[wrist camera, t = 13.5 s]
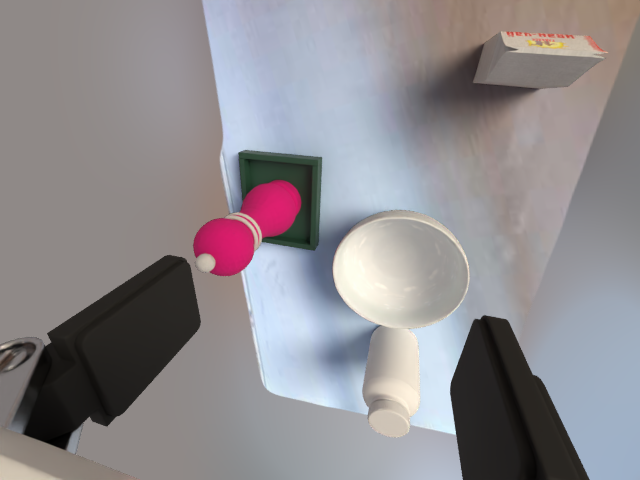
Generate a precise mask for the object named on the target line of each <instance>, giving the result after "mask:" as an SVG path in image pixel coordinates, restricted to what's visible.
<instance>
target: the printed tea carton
mask: <svg viewBox="0 0 640 480" xmlns="http://www.w3.org/2000/svg"><path fill="white" fill-rule="evenodd" d="M602 53H609V52H605V51H603V50H602V49H600V48H599V47H598V46H597V45H596V43H595V42H594V41H593V40H592V38H591V37H590V36H578V35H559V34H540V33H520V32H499V33H498V34H496V35H495V36H493V37H492V38H491V39H489V40H488V41H486V42H485V43H484V47H483V50H482V54H481V57H480V60H479V64H478V67H477V71H476V74H475V78H474V81H473V83H481V84H493V85H504V86H516V87H528V88H540V89H543V88H557V87H568V86H570V85H571V84H572V83H573V82H574V81H576V80H577V79H578V78H579V77H581V76H582V75H583V74H584V73H585V72H587V71H588V70H589V69H590V68H592V67H593V66H595V65H596V64H597V63H599V62H600V61H602V60H604V59H606V58H604V57H601V56H597V55H596V54H602Z"/></svg>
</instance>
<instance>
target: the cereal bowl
mask: <svg viewBox="0 0 640 480" xmlns="http://www.w3.org/2000/svg"><path fill="white" fill-rule="evenodd" d="M332 270H333V279H334V283H335V286H336V289H337V291H338V293H339V294H340V296H341V298H342V299H343V300H344V302H345V303H346V304H347V305H348V306H349V307H350V308H351V309H352V310H353V311H354V312H356V313H357V314H358V315H360V316H361V317H363V318H365V319H366V320H368V321H370V322H373V323H375V324H378V325H381V326H385V327H390V328H396V329H414V328H421V327H425V326H429V325H432V324H434V323H437V322H439V321H441V320H443V319H444V318H446V317H447V316H449V315H450V314H451V313H452V312H454V311H455V310H456V308H457V307H458V306H459V305H460V304H461V302H462V301H463V299H464V297H465V295H466V292H467V289H468V286H469V274H470V272H469V264H468V262H467V257H466V255H465V252H464V251H463V249H462V247H461V245H460V243H459V242H458V241H457V239H456V238H455V236H454V235H453V234H452V233H451V232H450V231H449V230H448V229H447V228H446V227H445V226H444V225H442V224H441V223H439V222H438V221H437V220H434V219H433V218H431V217H429V216H426V215H423V214H421V213H418V212H414V211H406V210H391V211H384V212H380V213H377V214H374V215H371V216H369V217H367V218H365V219H363V220H362V221H360V222H358V223H357V224H356V225H355V226H354V227H353V228H352V229H350V230H349V232H348V233H347V234H346V235H345V236H344V238H343V239H342V241H341V242H340V244H339V245H338V247H337V250H336V252H335V255H334V259H333V268H332Z"/></svg>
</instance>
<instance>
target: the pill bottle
mask: <svg viewBox="0 0 640 480" xmlns="http://www.w3.org/2000/svg"><path fill="white" fill-rule="evenodd" d="M362 392H363V398H364V401H365V403H366V405H367V406H368V407H369V412H368V422H369V424H370V426H371V427H372V428H373V429H374V430H375V431H376V432H378V433H380V434H382V435H384V436H388V437H401V436H404V435H405V434H407V433H408V431H409V429H410V417H411V416H413V415H414V414H415V413H416V412H417V410H418V408H419V405H420V378H419V346H418V341H417V338H416V336H415V335H414V334H413V332H412V331H410V330H409V329H396V328H390V327H385V326H380V327H378V328H377V329H376V330H375V331H374V332H373V334H372V337H371V341H370V347H369V353H368V359H367V365H366V371H365V377H364V383H363V390H362Z"/></svg>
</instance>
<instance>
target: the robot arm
mask: <svg viewBox="0 0 640 480" xmlns="http://www.w3.org/2000/svg"><path fill="white" fill-rule="evenodd" d="M200 323H201V321H200V315H199V309H198V304H197V299H196V294H195V288H194V284H193V278H192V273H191V268H190V265H189V263H187V260H186V259H185V258H182V257H177V256H172V255H167V256H164V257H163V258H161V259H160V260H159V261H157V262H155V263H154V264H152V265H151V266H149V267H148V268H146V269H145V270H143V271H142V272H140V273H139V274H137V275H136V276H134V277H132V278H131V279H130V280H128V281H126V282H125V283H123V284H122V285H120V286H119V287H117V288H116V289H114V290H113V291H111V292H110V293H108V294H107V295H105V296H103V297H102V298H101V299H99V300H97V301H96V302H94V303H93V304H91V305H90V306H88V307H87V308H85V309H84V310H82V311H81V312H79V313H78V314H76V315H75V316H73V317H71V318H70V319H68V320H67V321H65V322H64V323H62V324H61V325H59V326H58V327H56V328H55V329H53V330H52V331H50V332H49V333H47V334H48V336H49V338H50V340H51V343H50V344H48V345H47V346H46V347H45V345H44V343H43V341H42V340H41V339H39V338H36V337H25V338H18V339H15V340H11V341H8V342H5V343H3V344H0V480H140V479H137V478H134V477H132V476H130V475H127V474H124V473H122V472H119V471H116V470H114V469H112V468H109V467H106V466H104V465H101V464H99V463H96V462H94V461H91V460H88V459H86V458H83V457H81V456H78V455H76V451H77V448H78V444H79V440H80V436H81V431H82V427H83V422H84V421H85V420H86V419H87V418H88V417H89V416H90V418H91V420H92V421H93V422H96V423H98V424H101V425H104V426H108V425H109V424H110V423H111V422H112V421H113V420H114V418H115V417H117V416H120V415H121V414H123V413H124V412H125V411H126V410H127V409H128V407H129V406H130V405H131V404H132V403H133V402H134V401H135V400H136V398H137V397H138V396H139V395H140V394H141V393H142V392H143V391H144V390H145V389H146V387H147V386H148V385H149V384H150V383H151V382H152V381H153V379H154V378H155V377H156V376H157V375H158V374H159V373H160V372H161V371H162V370H163V368H164V367H165V366H166V365H167V364H168V363H169V362H170V361H171V360H172V358H173V357H174V356H175V355H176V354H177V353H178V352H179V350H181V348H182V347H183V346H184V345H185V344H186V343H187V342H188V341H189V339H190V338H191V337H192V336H193V335H194V334H195V333H196V332H197V330H198V329H199V327H200ZM450 395H451V402H452V409H453V415H454V422H455V429H456V436H457V443H458V449H459V456H460V463H461V470H462V477H463V480H589V478H588V476H587V473H586V471H585V469H584V468H583V465H582V463H581V461H580V459H579V457H578V454H577V452H576V450H575V448H574V446H573V444H572V442H571V440H570V438H569V436H568V434H567V431H566V430H565V427H564V425H563V423H562V421H561V419H560V417H559V415H558V413H557V411H556V409H555V406H554V404H553V402H552V400H551V398H550V396H549V394H548V392H547V390H546V387H545V385H544V384H543V382H542V381H541V379H540V378H539V377H537V376H535V375H533V374H532V372H531V370H530V368H529V366H528V364H527V361H526V359H525V357H524V355H523V352H522V350H521V348H520V346H519V343H518V341H517V339H516V337H515V335H514V332H513V330H512V328H511V326H510V324H509V322H508V320H506V319H501V318H496V317H491V316H486V315H484V316H482V317H481V319H480V320H479V319H475V320H474V321H473V323H472V326H471V329H470V332H469V334H468V337H467V340H466V343H465V345H464V348H463V351H462V354H461V356H460V359H459V362H458V365H457V367H456V370H455V373H454V376H453V378H452V381H451V386H450Z"/></svg>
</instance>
